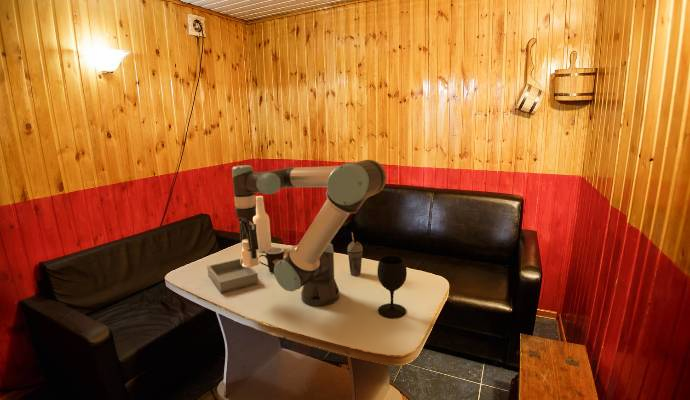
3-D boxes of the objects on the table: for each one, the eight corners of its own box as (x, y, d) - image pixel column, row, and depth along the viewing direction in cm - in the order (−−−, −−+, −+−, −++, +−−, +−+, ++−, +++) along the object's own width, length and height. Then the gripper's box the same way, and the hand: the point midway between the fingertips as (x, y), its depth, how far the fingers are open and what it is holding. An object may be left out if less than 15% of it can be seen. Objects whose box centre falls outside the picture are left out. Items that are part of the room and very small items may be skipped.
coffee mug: (287, 267, 179) (286, 247, 176) (282, 274, 170) (281, 253, 168) (264, 266, 180) (262, 247, 178) (258, 274, 171) (256, 253, 169)
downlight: (257, 258, 151) (254, 235, 148) (263, 264, 145) (260, 240, 143) (238, 264, 147) (235, 240, 144) (244, 269, 141) (240, 245, 138)
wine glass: (371, 311, 135) (371, 260, 131) (389, 301, 142) (389, 252, 138) (394, 321, 128) (394, 268, 124) (412, 310, 135) (412, 259, 131)
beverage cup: (366, 275, 166) (365, 233, 162) (351, 278, 163) (350, 235, 159) (359, 270, 173) (358, 229, 168) (345, 272, 170) (344, 231, 166)
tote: (258, 283, 161) (257, 273, 160) (221, 293, 152) (219, 282, 151) (242, 267, 179) (241, 258, 178) (208, 276, 171) (207, 265, 169)
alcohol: (273, 246, 208) (269, 194, 201) (268, 252, 199) (264, 198, 193) (258, 246, 209) (254, 194, 203) (252, 252, 200) (248, 198, 194)
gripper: (264, 209, 134) (269, 268, 139) (246, 200, 151) (251, 253, 156) (244, 212, 130) (249, 273, 135) (228, 203, 147) (233, 257, 152)
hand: (250, 262), depth 145 cm, fingers closed on downlight, 7 cm apart
